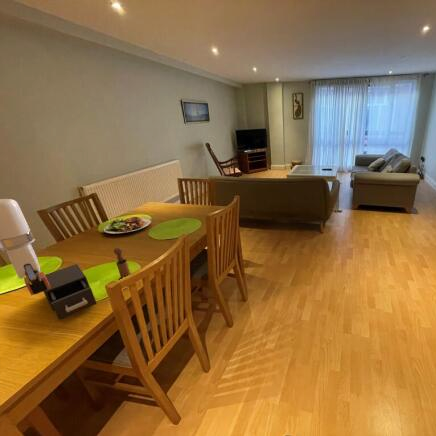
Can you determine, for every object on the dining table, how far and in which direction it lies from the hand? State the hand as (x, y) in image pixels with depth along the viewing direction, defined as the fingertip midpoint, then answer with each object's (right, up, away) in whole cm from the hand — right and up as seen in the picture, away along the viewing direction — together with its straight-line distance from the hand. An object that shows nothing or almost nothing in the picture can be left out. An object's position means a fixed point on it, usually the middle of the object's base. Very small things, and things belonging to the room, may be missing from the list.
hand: (39, 287), depth 79 cm
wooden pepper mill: (+8, -6, +31) cm, 33 cm away
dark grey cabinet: (-11, -10, +22) cm, 27 cm away
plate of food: (-29, +17, +86) cm, 93 cm away
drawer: (-2, -12, +15) cm, 19 cm away
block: (0, 0, 0) cm, 0 cm away
